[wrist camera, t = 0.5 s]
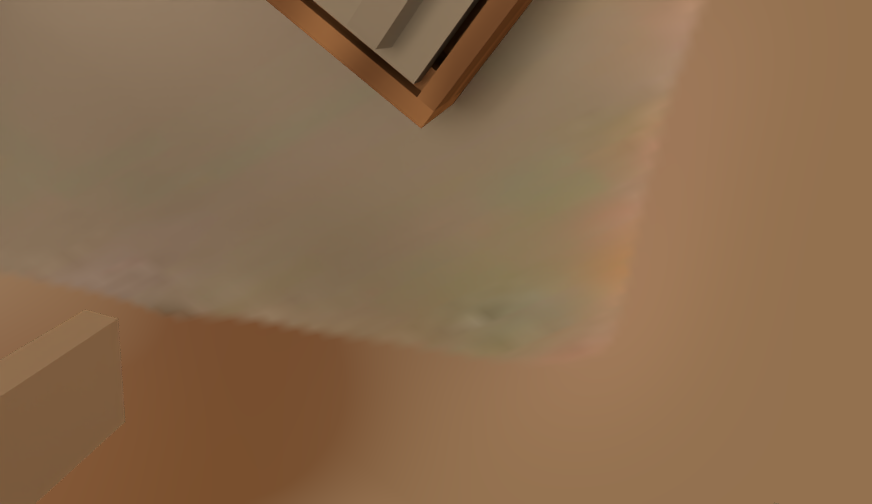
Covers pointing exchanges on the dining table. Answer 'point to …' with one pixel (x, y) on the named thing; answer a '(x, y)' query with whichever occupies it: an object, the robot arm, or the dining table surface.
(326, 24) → the walnut box
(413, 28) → the slate lid
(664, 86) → the dining table surface
